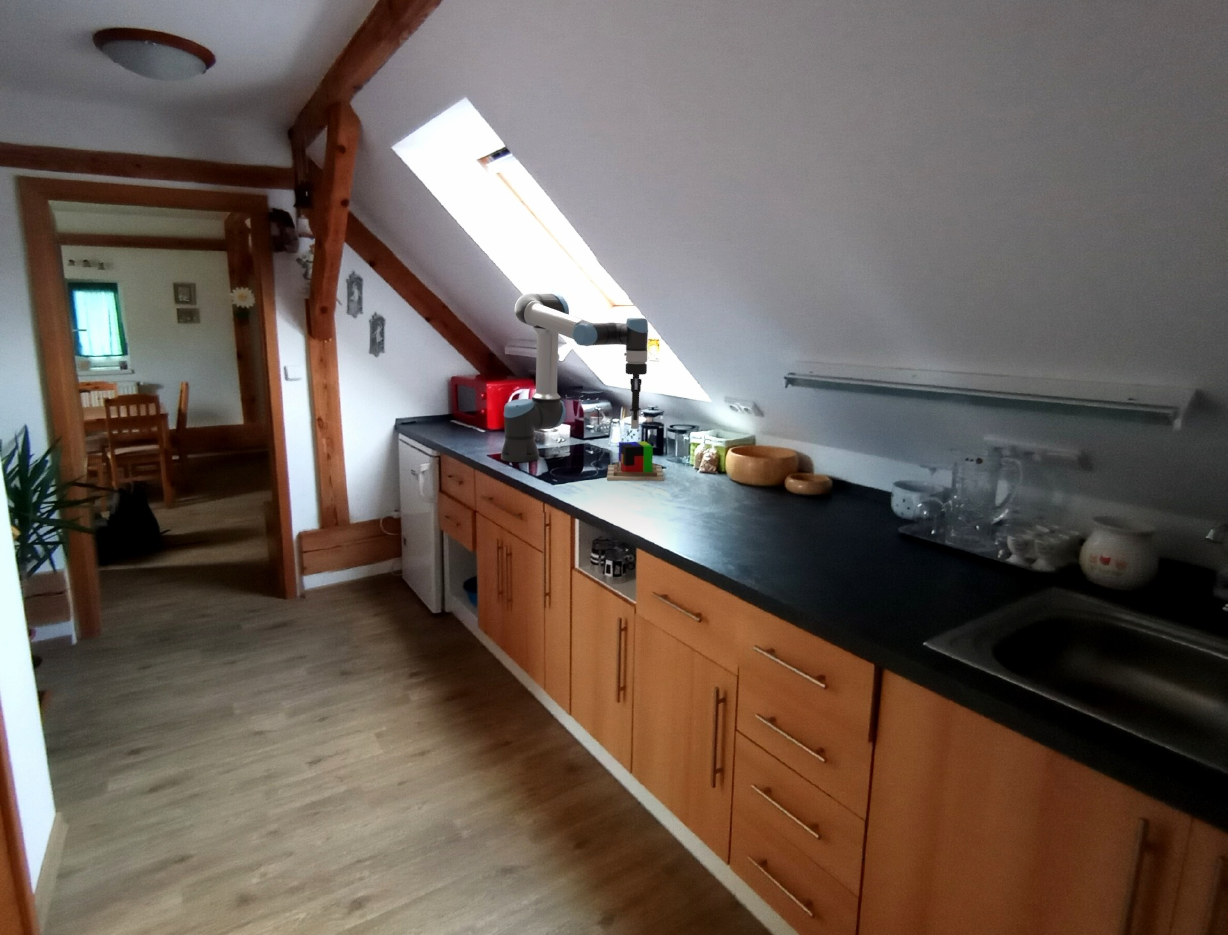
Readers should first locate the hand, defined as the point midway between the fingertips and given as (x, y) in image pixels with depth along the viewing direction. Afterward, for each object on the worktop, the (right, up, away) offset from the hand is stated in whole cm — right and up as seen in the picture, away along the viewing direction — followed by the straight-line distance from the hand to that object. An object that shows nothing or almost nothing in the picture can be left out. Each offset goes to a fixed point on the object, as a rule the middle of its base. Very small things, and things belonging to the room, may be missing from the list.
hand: (634, 428), depth 252 cm
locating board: (0, -16, +3) cm, 17 cm away
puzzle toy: (0, -16, +3) cm, 16 cm away
